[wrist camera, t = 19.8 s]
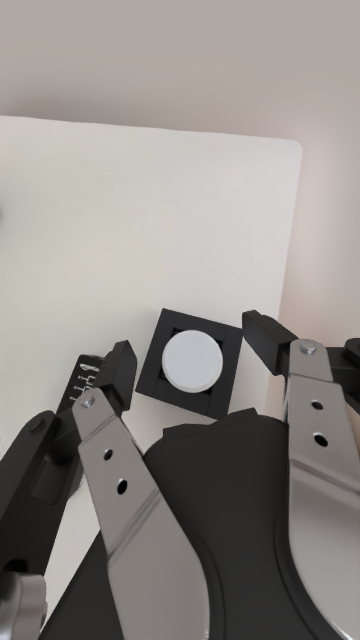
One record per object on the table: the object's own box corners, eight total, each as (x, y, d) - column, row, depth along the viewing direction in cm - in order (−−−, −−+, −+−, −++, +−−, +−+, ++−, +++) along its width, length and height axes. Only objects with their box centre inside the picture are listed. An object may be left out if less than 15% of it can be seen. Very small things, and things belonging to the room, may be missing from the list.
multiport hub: (42, 479, 18) (22, 494, 16) (90, 354, 22) (79, 353, 20) (76, 493, 18) (60, 511, 16) (120, 362, 21) (112, 362, 19)
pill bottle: (208, 336, 21) (221, 316, 12) (217, 378, 20) (241, 392, 10) (168, 344, 21) (150, 329, 12) (174, 386, 20) (160, 407, 11)
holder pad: (237, 333, 21) (244, 329, 18) (220, 414, 19) (225, 423, 16) (166, 314, 23) (162, 307, 20) (142, 387, 20) (134, 391, 17)
